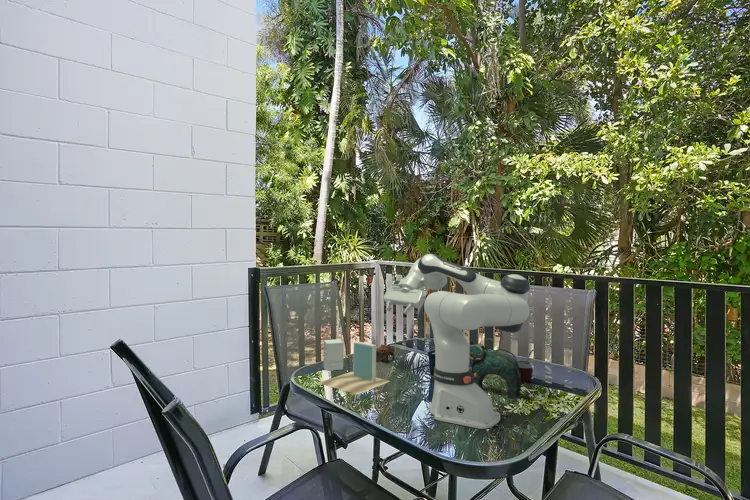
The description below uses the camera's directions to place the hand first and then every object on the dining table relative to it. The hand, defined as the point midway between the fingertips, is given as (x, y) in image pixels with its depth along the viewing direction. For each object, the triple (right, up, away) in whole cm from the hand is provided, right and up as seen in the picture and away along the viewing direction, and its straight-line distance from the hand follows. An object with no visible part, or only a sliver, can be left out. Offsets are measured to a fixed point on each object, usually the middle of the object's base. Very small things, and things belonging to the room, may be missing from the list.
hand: (395, 311), depth 184 cm
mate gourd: (+51, -27, -12) cm, 59 cm away
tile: (-13, -25, -14) cm, 31 cm away
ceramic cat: (+36, -27, -24) cm, 51 cm away
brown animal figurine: (-5, -26, +18) cm, 32 cm away
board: (-17, -26, -19) cm, 36 cm away
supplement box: (-27, -26, +1) cm, 37 cm away
